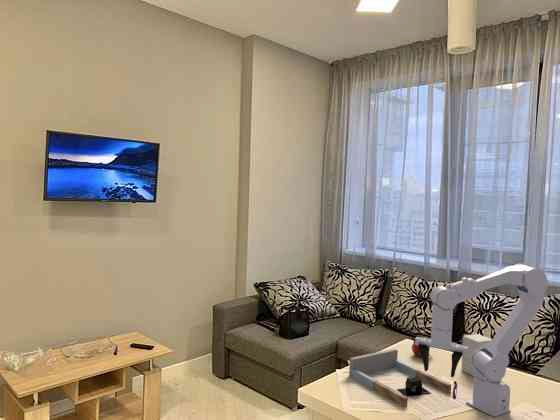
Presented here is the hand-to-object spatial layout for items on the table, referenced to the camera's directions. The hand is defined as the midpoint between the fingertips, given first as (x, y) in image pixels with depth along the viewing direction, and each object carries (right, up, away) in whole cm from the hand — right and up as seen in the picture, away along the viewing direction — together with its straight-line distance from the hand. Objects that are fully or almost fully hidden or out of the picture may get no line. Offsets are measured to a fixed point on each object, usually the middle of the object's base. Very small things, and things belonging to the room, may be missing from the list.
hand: (439, 373), depth 132 cm
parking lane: (-8, -9, +13) cm, 18 cm away
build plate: (-5, -10, +8) cm, 14 cm away
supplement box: (+22, -9, +25) cm, 35 cm away
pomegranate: (+7, -8, +40) cm, 41 cm away
